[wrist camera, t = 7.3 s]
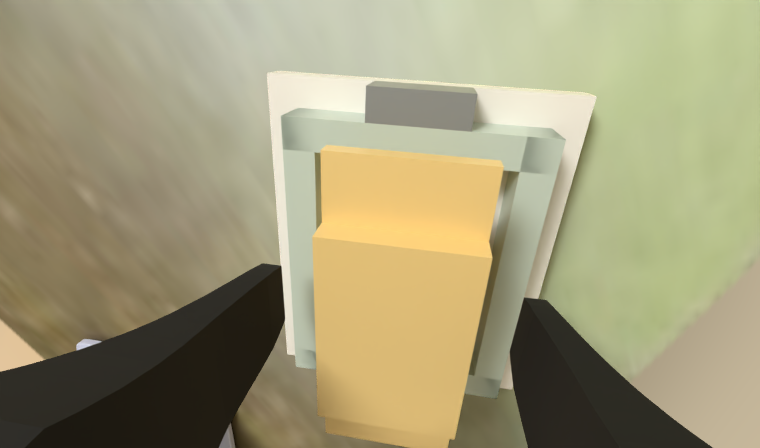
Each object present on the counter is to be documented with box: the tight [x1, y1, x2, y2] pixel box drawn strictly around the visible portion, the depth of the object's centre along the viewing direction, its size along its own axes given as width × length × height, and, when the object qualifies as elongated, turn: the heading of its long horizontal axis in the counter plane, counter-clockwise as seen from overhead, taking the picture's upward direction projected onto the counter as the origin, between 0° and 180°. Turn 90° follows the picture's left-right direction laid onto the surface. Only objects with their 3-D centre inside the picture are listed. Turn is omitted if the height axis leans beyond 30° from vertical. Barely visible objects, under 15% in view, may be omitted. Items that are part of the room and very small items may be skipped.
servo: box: [312, 145, 504, 448], centre depth 12 cm, size 10×4×5 cm, turn 177°
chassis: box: [267, 71, 597, 399], centre depth 14 cm, size 12×10×2 cm
